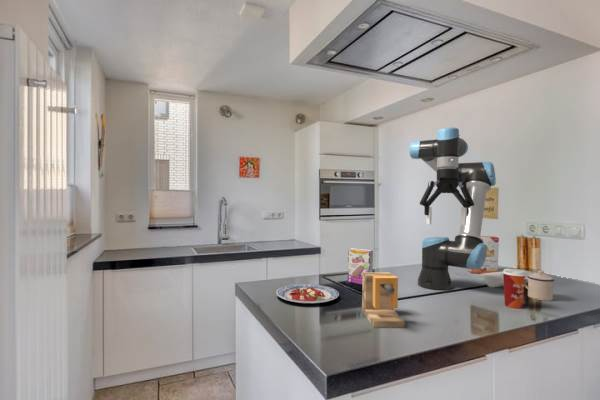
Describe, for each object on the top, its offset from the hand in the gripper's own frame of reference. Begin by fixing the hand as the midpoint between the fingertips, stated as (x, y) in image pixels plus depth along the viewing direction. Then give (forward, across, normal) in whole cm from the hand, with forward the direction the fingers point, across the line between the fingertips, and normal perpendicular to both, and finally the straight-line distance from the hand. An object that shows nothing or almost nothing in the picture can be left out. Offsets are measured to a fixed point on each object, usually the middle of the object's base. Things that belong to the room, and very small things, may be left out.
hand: (446, 224), depth 126 cm
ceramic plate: (+32, -52, +12) cm, 62 cm away
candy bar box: (+32, -25, +34) cm, 53 cm away
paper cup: (+32, +28, +1) cm, 42 cm away
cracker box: (+32, +51, +58) cm, 84 cm away
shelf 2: (+32, +51, +34) cm, 69 cm away
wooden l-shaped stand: (+32, -28, -12) cm, 44 cm away
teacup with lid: (+32, +47, +13) cm, 58 cm away
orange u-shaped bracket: (+27, -28, -15) cm, 41 cm away
